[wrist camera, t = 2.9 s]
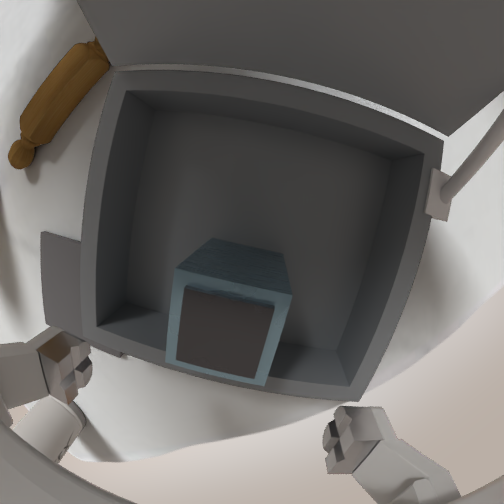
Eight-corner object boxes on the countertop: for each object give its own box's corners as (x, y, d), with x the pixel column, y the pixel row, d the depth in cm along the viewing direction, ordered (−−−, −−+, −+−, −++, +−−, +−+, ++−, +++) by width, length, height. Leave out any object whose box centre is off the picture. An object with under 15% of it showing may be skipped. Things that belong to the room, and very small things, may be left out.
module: (211, 237, 17) (172, 270, 10) (283, 253, 17) (293, 298, 10) (200, 302, 18) (163, 365, 11) (266, 318, 18) (264, 390, 11)
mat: (45, 231, 18) (40, 232, 18) (125, 254, 18) (121, 256, 18) (49, 321, 20) (45, 323, 20) (123, 354, 20) (120, 357, 20)
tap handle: (282, -61, 9) (8, 176, 15) (281, -41, 12) (31, 175, 18) (257, -71, 9) (-1, 154, 14) (258, -52, 12) (21, 155, 17)
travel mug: (42, 395, 23) (-35, 482, 4) (57, 383, 22) (-34, 487, 3) (74, 428, 24) (10, 522, 5) (94, 421, 23) (21, 535, 4)
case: (161, 61, 15) (65, -34, 3) (419, 119, 15) (545, 73, 3) (117, 307, 19) (14, 398, 7) (353, 361, 19) (405, 488, 7)
